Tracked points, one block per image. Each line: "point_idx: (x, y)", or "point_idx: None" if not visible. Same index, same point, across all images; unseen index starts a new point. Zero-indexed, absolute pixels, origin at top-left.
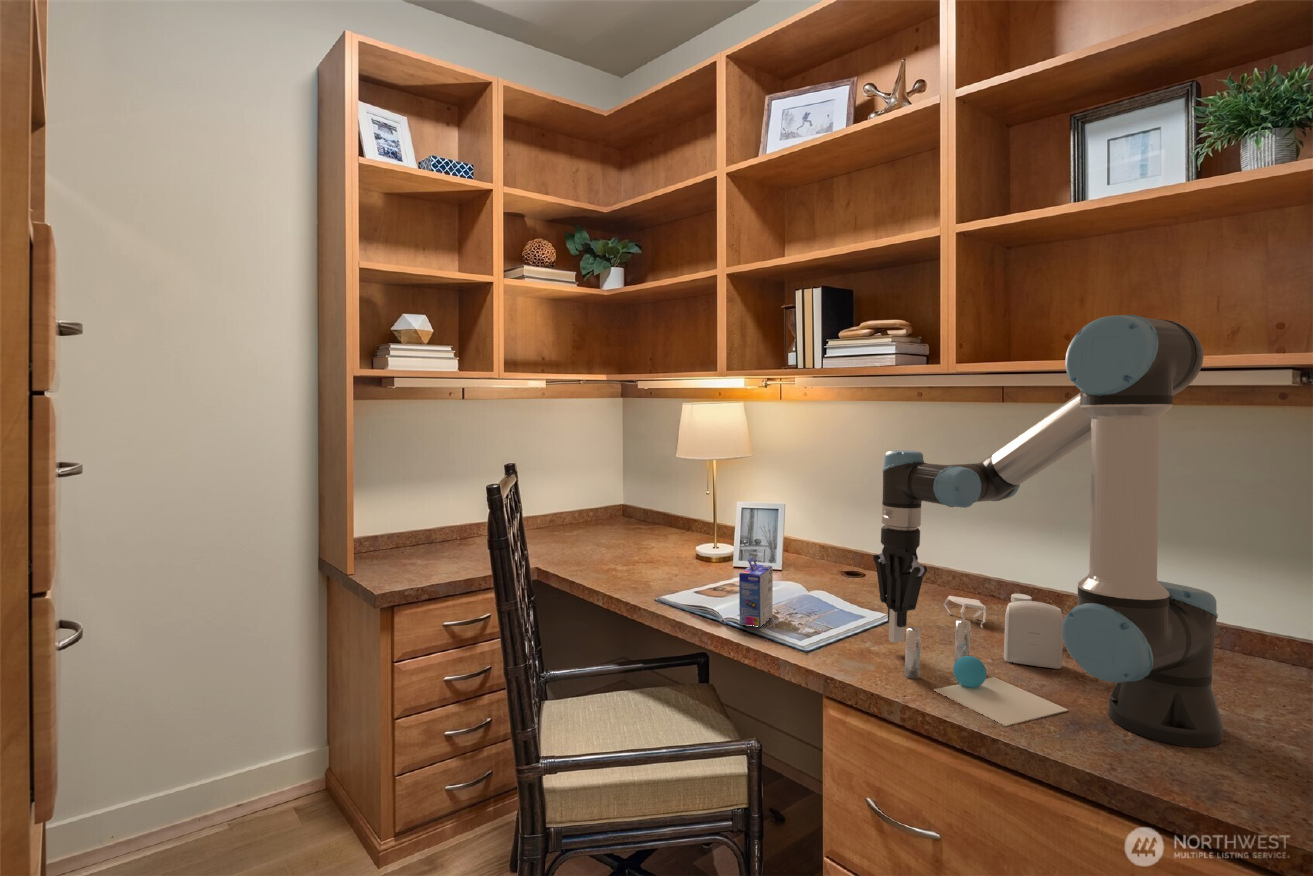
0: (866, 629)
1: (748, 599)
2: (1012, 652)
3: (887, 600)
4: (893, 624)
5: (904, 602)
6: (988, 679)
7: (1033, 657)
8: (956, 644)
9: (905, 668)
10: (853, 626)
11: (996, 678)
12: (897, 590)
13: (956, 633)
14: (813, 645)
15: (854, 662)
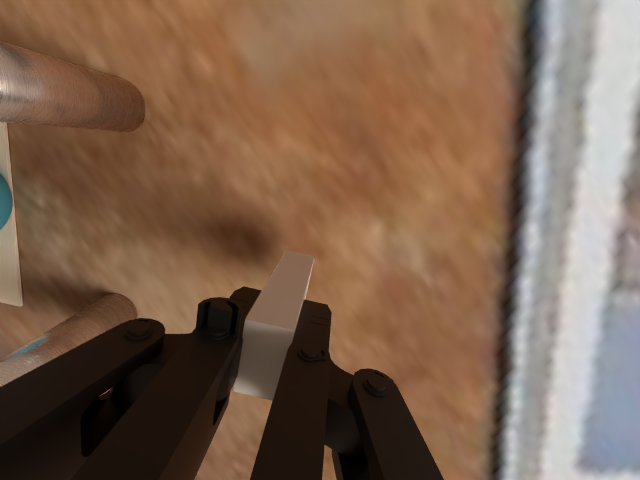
0: (504, 372)
1: None
2: None
3: (317, 379)
4: (274, 281)
5: (106, 361)
6: (10, 279)
7: None
8: (58, 337)
9: (106, 74)
10: (558, 364)
11: (9, 303)
12: (139, 467)
13: (16, 367)
14: (565, 39)
15: (322, 30)
